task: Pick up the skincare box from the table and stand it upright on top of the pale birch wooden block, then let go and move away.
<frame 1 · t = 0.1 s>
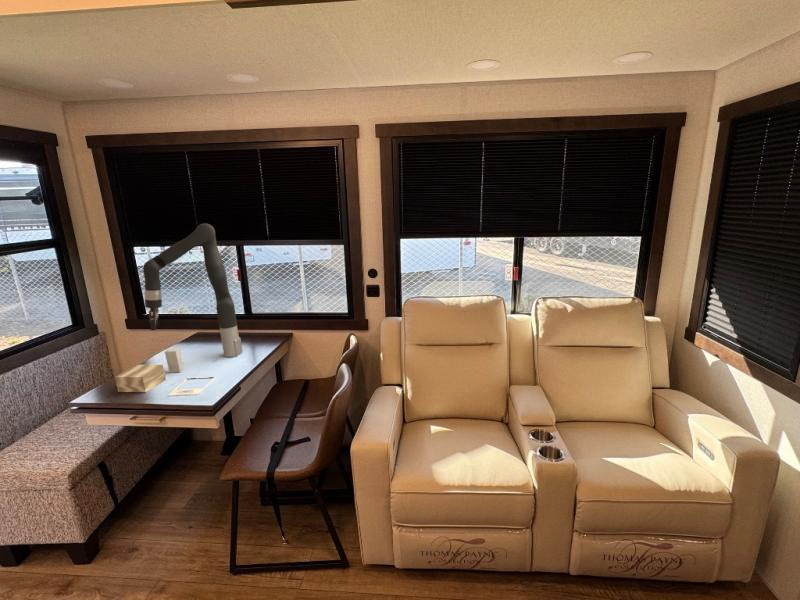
hand: (154, 327, 207), 22 cm above the table, tool pointing down, fingers open, 8 cm apart
skincare box: (176, 371, 206), on the table
birch block: (142, 385, 191), on the table
photo frame: (193, 387, 188), on the table
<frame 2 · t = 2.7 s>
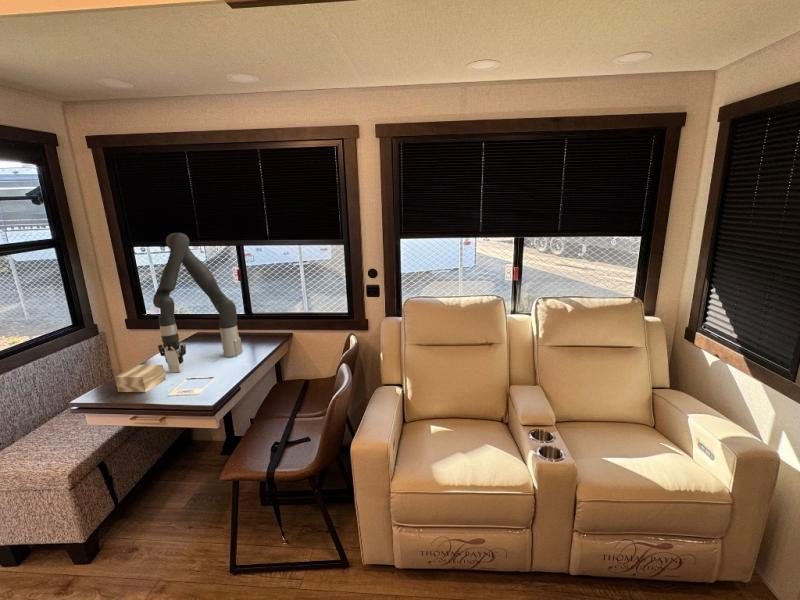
hand: (175, 362, 205), 5 cm above the table, tool pointing down, fingers closed on skincare box, 6 cm apart
skincare box: (176, 371, 206), on the table, touching gripper
everything else where it was.
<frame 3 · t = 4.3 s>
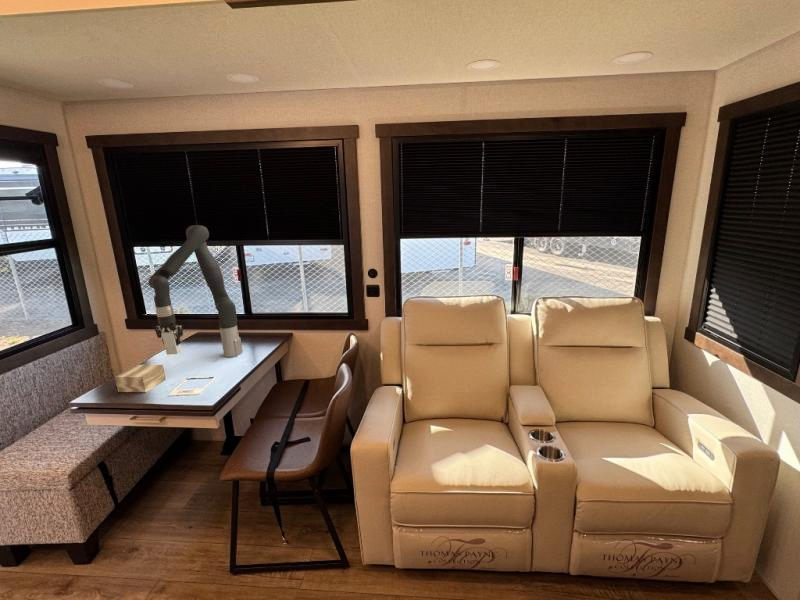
hand: (172, 344, 203), 15 cm above the table, tool pointing down, fingers closed on skincare box, 6 cm apart
skincare box: (174, 353, 204), point 10 cm above the table, touching gripper
everything else where it was.
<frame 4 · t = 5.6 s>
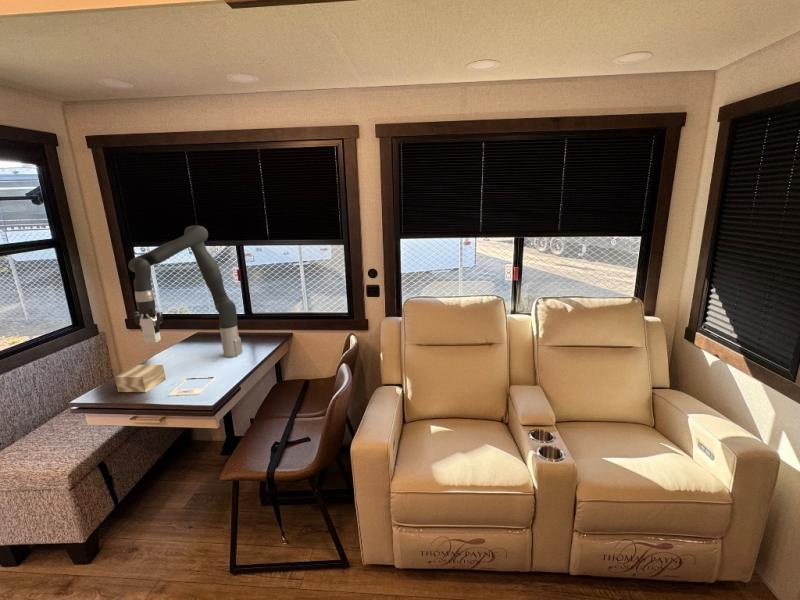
hand: (150, 332, 193), 25 cm above the table, tool pointing down, fingers closed on skincare box, 6 cm apart
skincare box: (152, 341, 194), point 20 cm above the table, touching gripper
everything else where it was.
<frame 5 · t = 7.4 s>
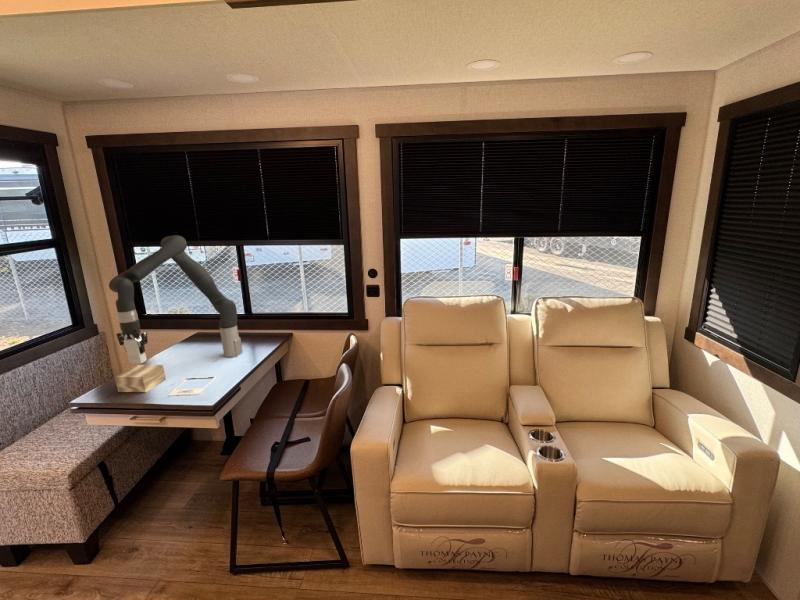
hand: (135, 353, 186), 17 cm above the table, tool pointing down, fingers closed on skincare box, 6 cm apart
skincare box: (137, 362, 188), point 12 cm above the table, touching gripper
everything else where it was.
when the fingers open (14 cm above the table, at t = 8.5 s): skincare box drops 1 cm, resting on birch block.
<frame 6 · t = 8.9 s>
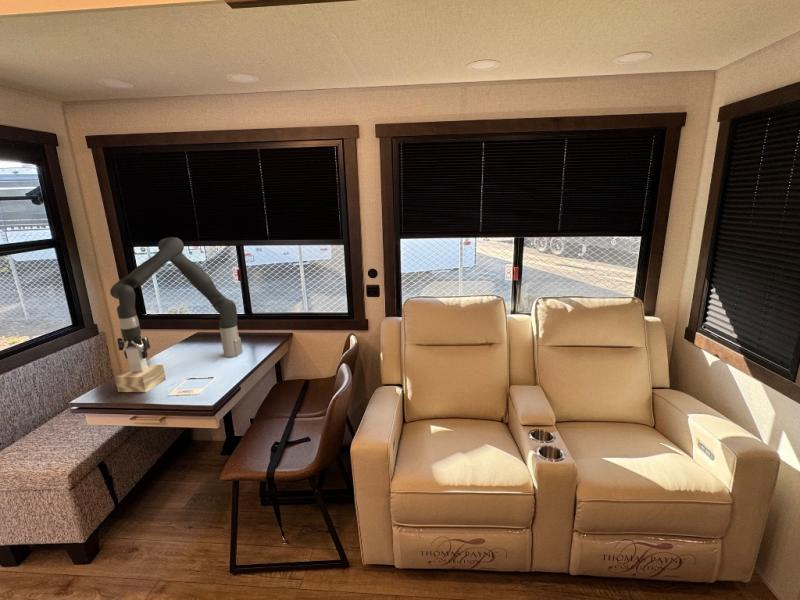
hand: (136, 358, 187), 15 cm above the table, tool pointing down, fingers open, 8 cm apart
skincare box: (139, 370, 189), point 8 cm above the table, touching birch block
everything else where it was.
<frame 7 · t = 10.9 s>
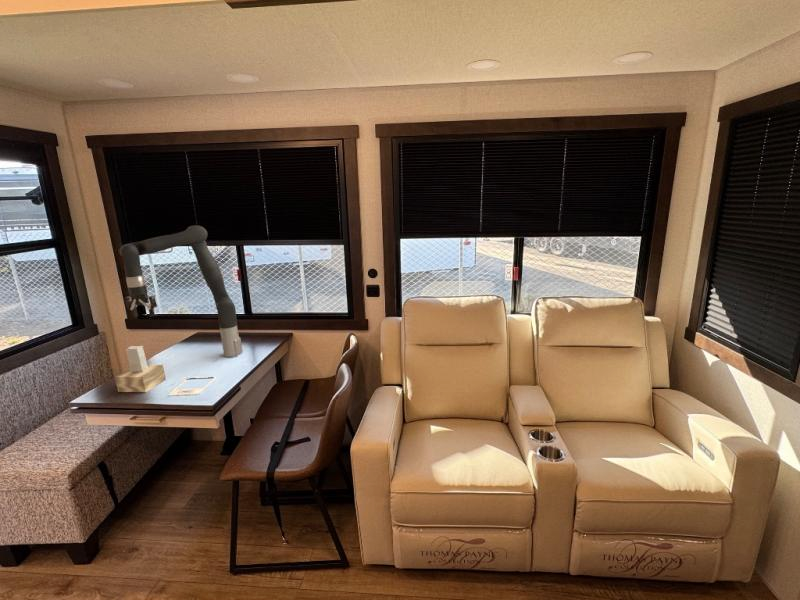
hand: (144, 316, 196), 31 cm above the table, tool pointing down, fingers open, 8 cm apart
nothing on the table moved.
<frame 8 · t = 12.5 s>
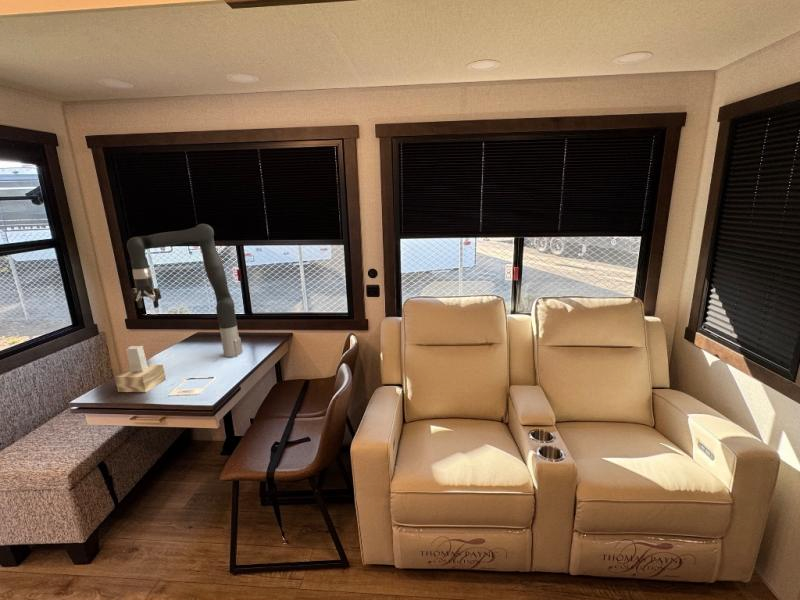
hand: (148, 307, 202), 34 cm above the table, tool pointing down, fingers open, 8 cm apart
nothing on the table moved.
at the end: skincare box inside the target area on the birch block (0.2 cm from its centre), point 7.8 cm above the birch block's base; skincare box tilted 0°; the gripper is holding nothing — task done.
